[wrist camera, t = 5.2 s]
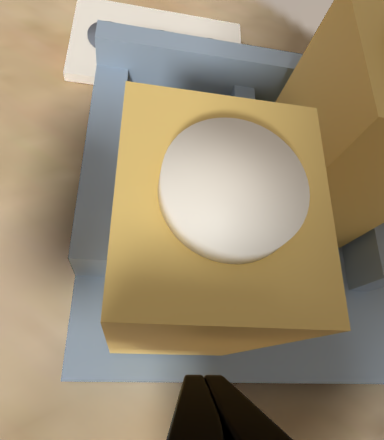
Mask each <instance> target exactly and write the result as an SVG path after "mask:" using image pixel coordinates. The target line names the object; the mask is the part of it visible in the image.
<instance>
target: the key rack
mask: <svg viewBox="0 0 384 440" xmlns="http://www.w3.org/2000/svg"><path fill="white" fill-rule="evenodd" d="M95 48H96V63H97V66H96V72H95V79H94V86H93V93H92V99H91V106H90V113H89V120H88V126H87V133H86V140H85V147H84V153H83V160H82V167H81V174H80V180H79V187H78V194H77V201H76V208H75V214H74V221H73V228H72V235H71V241H70V248H69V255H68V259H69V262H70V264H71V267H72V269H73V271H74V274H75V281H74V289H73V296H72V303H71V310H70V318H69V325H68V332H67V340H66V347H65V354H64V361H63V369H62V376H61V381H73V382H183V379H184V376H185V375H202V376H203V377H204V376H205V375H222V376H223V377H225V378H226V379H227V380H228V381H229V382H230V383H311V384H384V223H382V224H381V225H379V226H377V227H375V228H374V229H372V230H370V231H368V232H367V233H365V234H363V235H362V236H360V237H358V238H356V239H355V240H353V241H351V242H349V243H348V244H346V245H344V246H342V247H341V248H339V247H338V250H339V257H340V263H341V270H342V276H343V283H344V289H345V296H346V302H347V309H348V316H349V322H350V329H351V331H347V332H342V333H337V334H332V335H327V336H321V337H316V338H311V339H306V340H301V341H295V342H290V343H285V344H280V345H275V346H269V347H264V348H259V349H254V350H249V351H243V352H238V353H233V354H228V355H223V356H215V355H167V354H120V353H110V352H109V349H108V345H107V342H106V339H105V336H104V332H103V329H102V326H101V323H100V321H101V312H102V302H103V292H104V283H105V273H106V264H107V254H108V245H109V235H110V226H111V216H112V206H113V197H114V187H115V178H116V168H117V159H118V149H119V140H120V130H121V120H122V111H123V101H124V92H125V82H126V81H130V82H137V83H144V84H151V85H158V86H165V87H172V88H179V89H186V90H193V91H200V92H207V93H214V94H221V95H228V96H235V97H242V98H249V99H256V100H263V101H270V102H276V100H277V98H278V96H279V95H280V93H281V91H282V90H283V88H284V86H285V84H286V83H287V81H288V79H289V77H290V76H291V74H292V72H293V71H294V69H295V67H296V65H297V64H298V62H299V60H300V58H301V57H302V55H303V54H299V53H293V52H287V51H281V50H275V49H269V48H263V47H257V46H251V45H245V44H239V43H234V42H228V41H222V40H216V39H210V38H204V37H198V36H192V35H186V34H180V33H174V32H168V31H162V30H156V29H150V28H144V27H138V26H132V25H126V24H120V23H114V22H108V21H102V20H97V26H96V32H95Z"/></svg>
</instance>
